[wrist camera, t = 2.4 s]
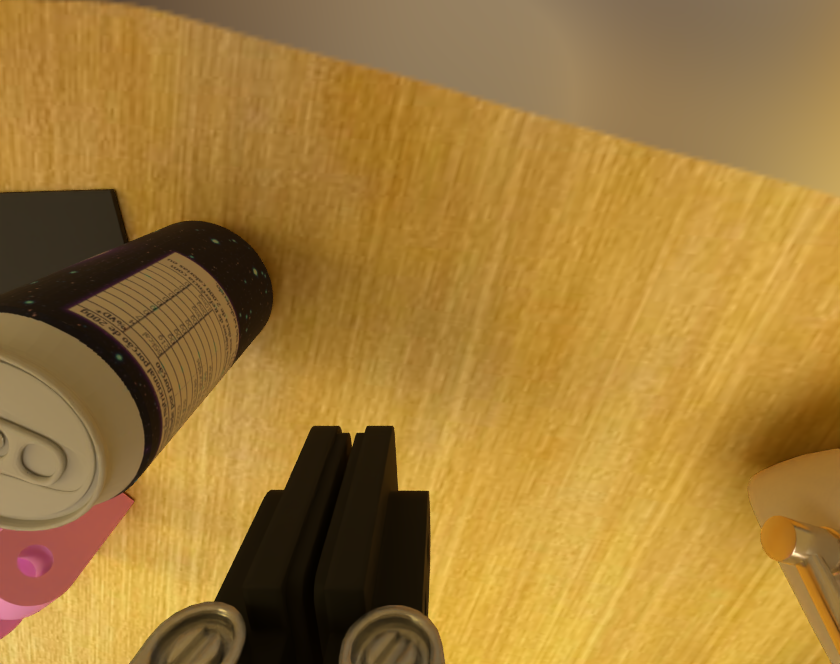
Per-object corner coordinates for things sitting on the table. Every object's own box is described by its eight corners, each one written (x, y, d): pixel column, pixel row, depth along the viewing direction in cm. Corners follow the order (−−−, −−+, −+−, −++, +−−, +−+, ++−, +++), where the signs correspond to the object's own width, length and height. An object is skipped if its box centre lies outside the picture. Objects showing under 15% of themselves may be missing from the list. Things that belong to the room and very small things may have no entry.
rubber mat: (-127, 196, 21) (-135, 197, 21) (114, 189, 21) (110, 190, 21) (-44, 385, 25) (-49, 388, 25) (164, 383, 24) (161, 386, 24)
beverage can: (173, 190, 21) (-130, 277, 10) (300, 259, 22) (154, 409, 11) (132, 304, 23) (-156, 482, 12) (250, 362, 24) (84, 577, 13)
